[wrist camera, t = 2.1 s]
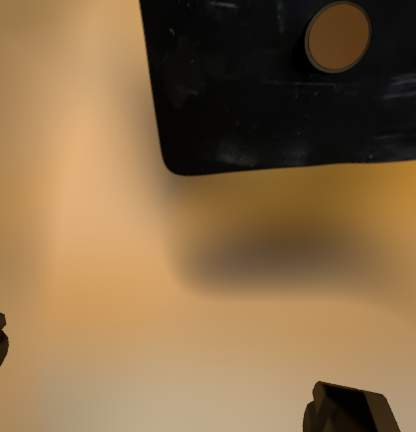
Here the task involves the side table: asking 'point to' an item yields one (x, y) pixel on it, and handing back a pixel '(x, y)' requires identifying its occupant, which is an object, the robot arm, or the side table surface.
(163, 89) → the side table surface
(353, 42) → the torch
